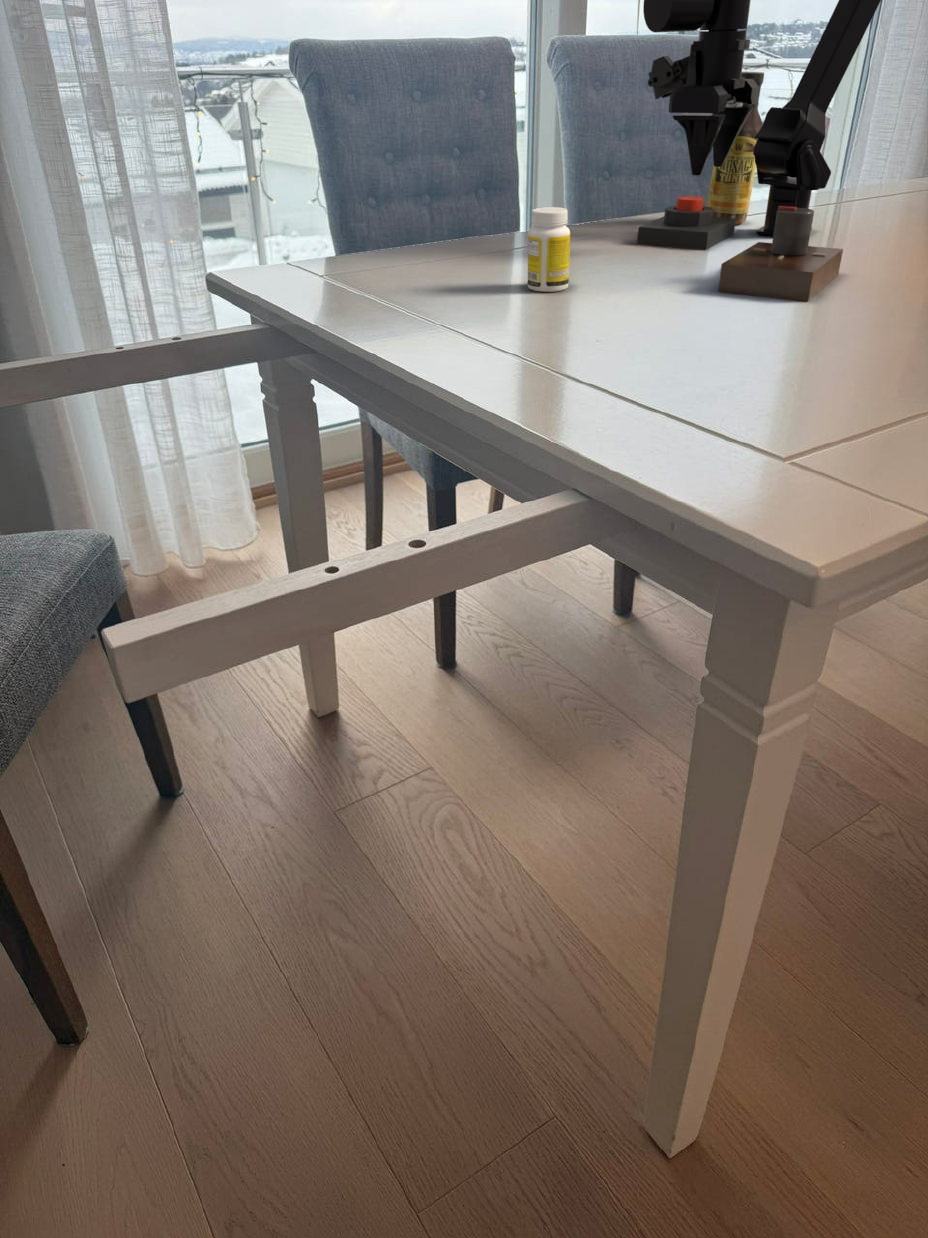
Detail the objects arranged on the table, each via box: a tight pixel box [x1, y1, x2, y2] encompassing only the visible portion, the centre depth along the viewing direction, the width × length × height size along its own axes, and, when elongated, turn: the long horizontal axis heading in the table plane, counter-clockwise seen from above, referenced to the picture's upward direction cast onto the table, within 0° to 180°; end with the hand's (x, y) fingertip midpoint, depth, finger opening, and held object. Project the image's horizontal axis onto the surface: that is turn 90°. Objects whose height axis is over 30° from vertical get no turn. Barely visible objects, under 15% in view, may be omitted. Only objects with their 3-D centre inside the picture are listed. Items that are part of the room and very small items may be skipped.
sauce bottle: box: [706, 71, 765, 226], centre depth 133 cm, size 6×6×20 cm
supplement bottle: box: [527, 206, 571, 293], centre depth 103 cm, size 5×5×8 cm
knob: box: [771, 206, 815, 256], centre depth 103 cm, size 4×4×5 cm
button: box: [675, 195, 705, 211], centre depth 125 cm, size 4×4×2 cm
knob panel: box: [717, 241, 844, 302], centre depth 104 cm, size 14×10×3 cm
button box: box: [636, 205, 736, 251], centre depth 127 cm, size 12×10×4 cm
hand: (707, 170), depth 119 cm, fingers open, 9 cm apart
